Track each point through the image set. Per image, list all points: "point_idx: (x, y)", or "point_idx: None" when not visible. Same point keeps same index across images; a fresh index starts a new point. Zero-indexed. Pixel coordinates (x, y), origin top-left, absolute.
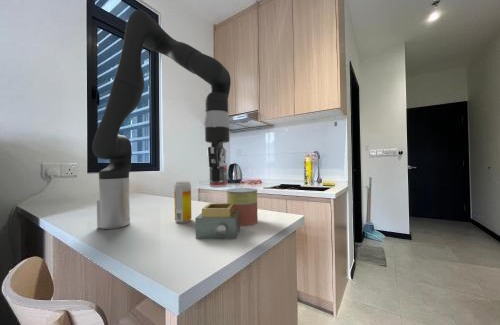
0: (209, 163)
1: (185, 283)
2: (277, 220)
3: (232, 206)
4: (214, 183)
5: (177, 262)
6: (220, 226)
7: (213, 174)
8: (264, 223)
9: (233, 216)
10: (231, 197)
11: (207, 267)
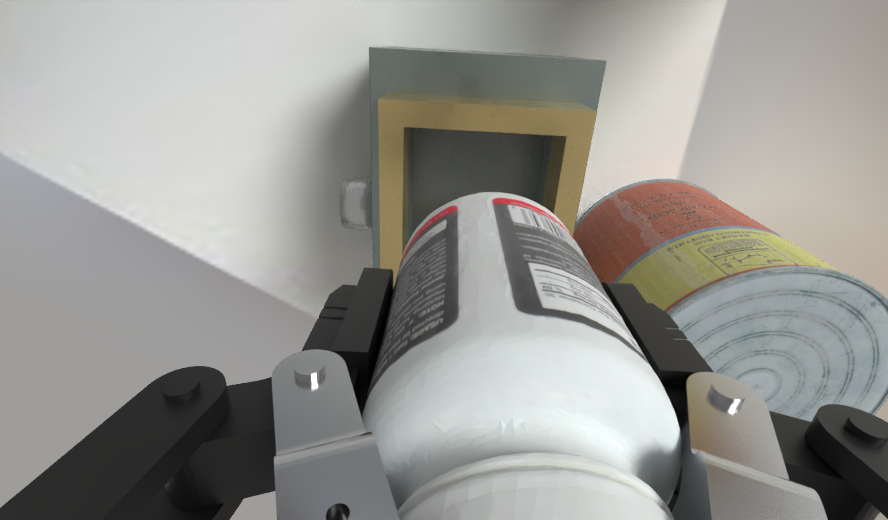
0: (113, 421)
1: (6, 133)
2: None
3: None
4: (398, 271)
5: (118, 48)
6: (340, 209)
7: (314, 331)
8: None
9: None
10: (649, 291)
11: (118, 178)
